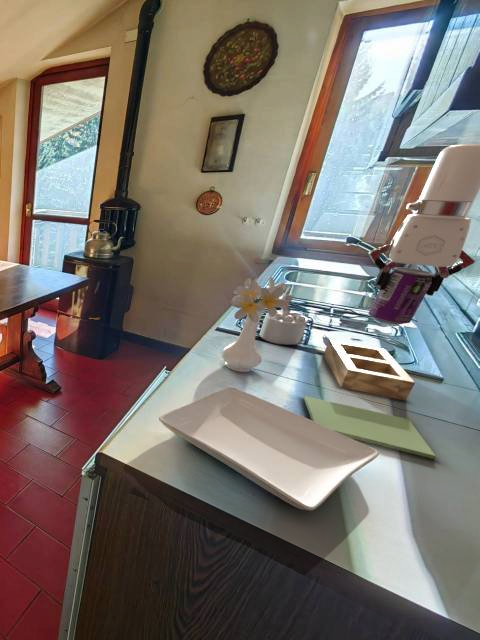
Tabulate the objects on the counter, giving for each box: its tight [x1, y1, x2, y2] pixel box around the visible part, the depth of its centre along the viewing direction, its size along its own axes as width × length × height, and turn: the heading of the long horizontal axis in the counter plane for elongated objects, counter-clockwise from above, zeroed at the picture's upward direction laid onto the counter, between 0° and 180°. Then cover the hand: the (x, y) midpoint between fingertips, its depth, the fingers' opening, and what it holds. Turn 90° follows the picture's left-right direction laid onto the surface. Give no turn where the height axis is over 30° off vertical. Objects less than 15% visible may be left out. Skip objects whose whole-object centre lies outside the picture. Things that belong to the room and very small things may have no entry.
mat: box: [303, 395, 437, 460], centre depth 84 cm, size 18×14×1 cm
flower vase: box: [220, 276, 294, 373], centre depth 103 cm, size 13×18×25 cm
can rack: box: [323, 339, 416, 401], centre depth 104 cm, size 12×22×5 cm, turn 149°
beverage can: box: [368, 266, 434, 325], centre depth 89 cm, size 7×7×12 cm
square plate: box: [158, 385, 380, 512], centre depth 76 cm, size 27×27×4 cm
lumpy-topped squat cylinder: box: [259, 309, 309, 345], centre depth 127 cm, size 10×13×9 cm
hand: (403, 290), depth 88 cm, fingers closed on beverage can, 7 cm apart
